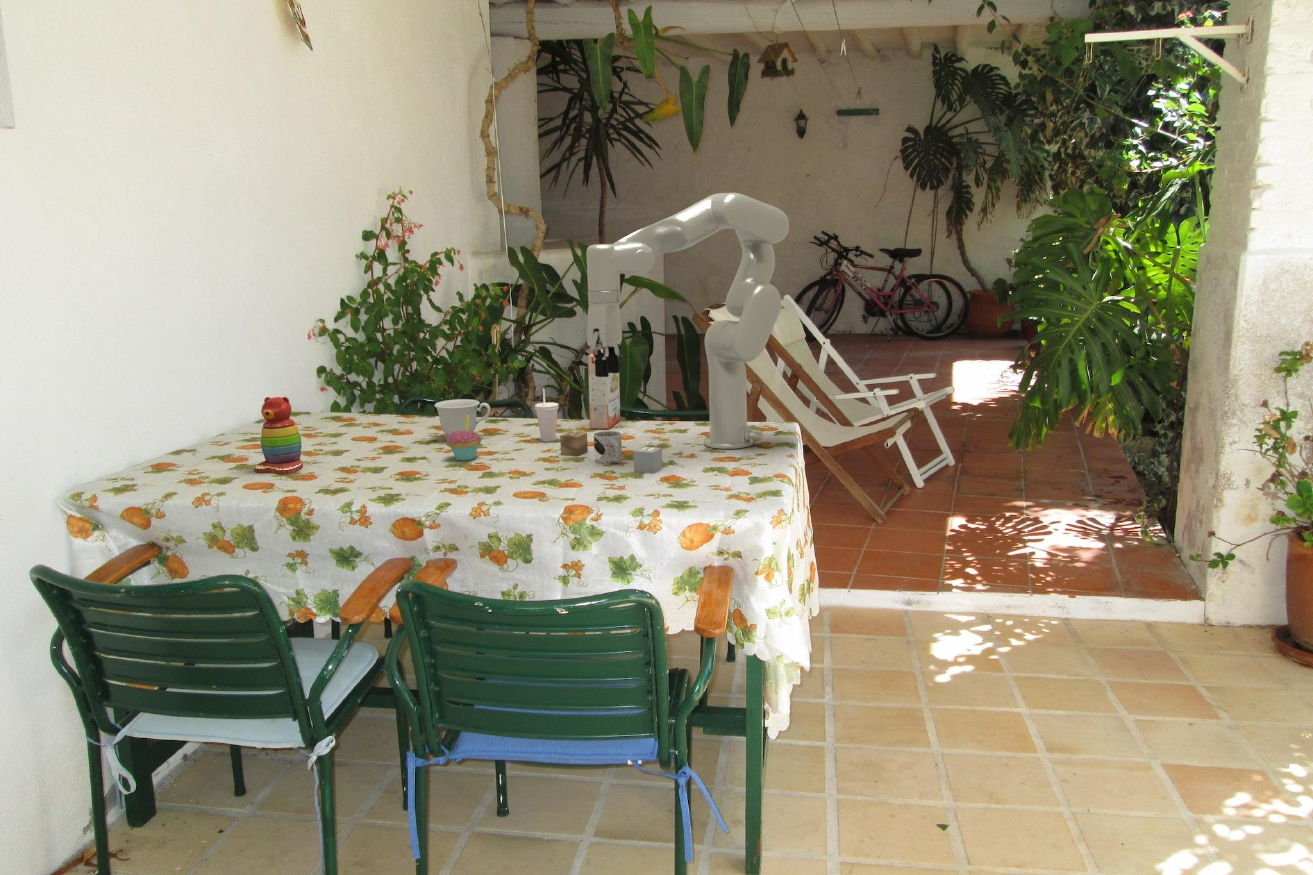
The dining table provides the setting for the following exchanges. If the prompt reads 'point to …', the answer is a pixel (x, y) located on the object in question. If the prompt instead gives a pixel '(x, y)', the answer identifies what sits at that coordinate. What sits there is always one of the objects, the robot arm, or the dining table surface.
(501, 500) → the dining table surface
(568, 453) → the walnut number block
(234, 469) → the dining table surface
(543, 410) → the smoothie
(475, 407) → the teacup
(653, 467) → the slate number block
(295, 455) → the stacking bear
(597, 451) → the mug
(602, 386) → the cracker box
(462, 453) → the cupcake
